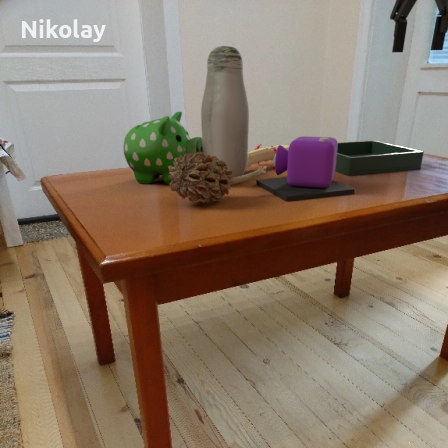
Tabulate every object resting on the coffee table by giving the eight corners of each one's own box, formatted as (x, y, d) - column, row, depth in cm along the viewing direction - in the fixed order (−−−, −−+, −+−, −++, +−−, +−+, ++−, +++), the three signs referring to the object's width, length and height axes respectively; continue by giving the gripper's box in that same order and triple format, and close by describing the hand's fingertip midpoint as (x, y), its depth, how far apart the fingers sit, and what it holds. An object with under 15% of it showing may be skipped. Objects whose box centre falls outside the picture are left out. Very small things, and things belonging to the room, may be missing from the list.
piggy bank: (194, 188, 99) (191, 116, 92) (118, 186, 102) (109, 117, 95) (207, 174, 112) (204, 110, 105) (138, 173, 114) (132, 111, 107)
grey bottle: (233, 189, 97) (232, 44, 84) (196, 184, 102) (189, 46, 89) (255, 180, 105) (257, 45, 92) (219, 176, 110) (216, 47, 97)
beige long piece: (239, 183, 108) (306, 161, 121) (237, 146, 103) (306, 127, 116) (213, 177, 114) (279, 156, 128) (210, 142, 110) (279, 124, 123)
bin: (420, 168, 114) (423, 151, 112) (348, 175, 108) (350, 157, 106) (370, 155, 132) (372, 140, 130) (306, 160, 126) (307, 145, 124)
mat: (354, 193, 93) (355, 189, 92) (286, 201, 88) (286, 196, 88) (317, 178, 106) (317, 173, 106) (255, 184, 102) (256, 179, 101)
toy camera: (273, 177, 103) (275, 132, 98) (333, 178, 101) (337, 132, 96) (271, 189, 93) (272, 139, 89) (336, 190, 92) (342, 139, 87)
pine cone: (181, 214, 82) (178, 159, 77) (161, 202, 89) (157, 151, 84) (277, 197, 91) (279, 147, 87) (252, 188, 99) (253, 141, 94)
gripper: (383, -49, 105) (371, 53, 115) (465, -79, 84) (441, 49, 94) (409, -47, 107) (395, 52, 117) (495, -76, 86) (469, 49, 96)
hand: (415, 51), depth 105 cm, fingers open, 13 cm apart
